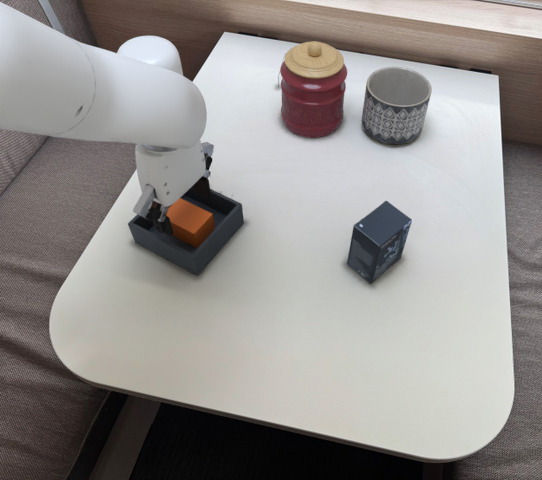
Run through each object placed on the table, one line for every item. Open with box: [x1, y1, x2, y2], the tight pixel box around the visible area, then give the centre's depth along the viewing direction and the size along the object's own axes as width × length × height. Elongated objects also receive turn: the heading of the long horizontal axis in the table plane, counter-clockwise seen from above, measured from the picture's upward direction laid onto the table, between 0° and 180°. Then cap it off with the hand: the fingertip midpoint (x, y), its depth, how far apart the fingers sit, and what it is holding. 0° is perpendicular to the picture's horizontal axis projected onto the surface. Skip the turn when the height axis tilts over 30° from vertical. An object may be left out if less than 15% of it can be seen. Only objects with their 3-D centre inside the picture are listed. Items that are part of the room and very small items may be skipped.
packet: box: [166, 198, 215, 248], centre depth 88 cm, size 5×7×4 cm
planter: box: [361, 66, 433, 145], centre depth 105 cm, size 13×13×10 cm
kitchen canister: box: [279, 40, 348, 139], centre depth 103 cm, size 13×13×18 cm
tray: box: [127, 186, 245, 277], centre depth 88 cm, size 13×13×5 cm
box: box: [346, 200, 413, 284], centre depth 84 cm, size 8×6×11 cm
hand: (184, 211), depth 85 cm, fingers open, 9 cm apart
